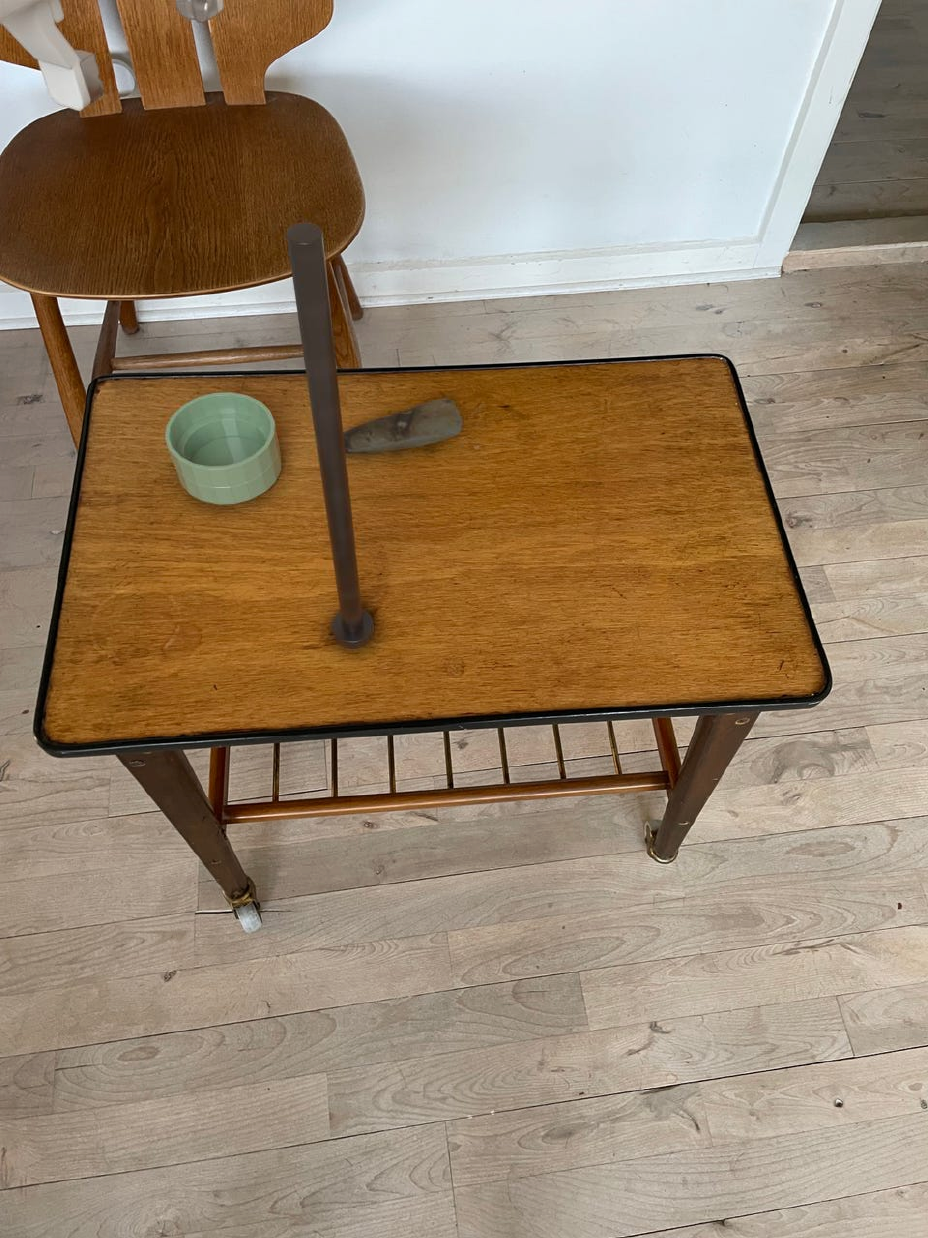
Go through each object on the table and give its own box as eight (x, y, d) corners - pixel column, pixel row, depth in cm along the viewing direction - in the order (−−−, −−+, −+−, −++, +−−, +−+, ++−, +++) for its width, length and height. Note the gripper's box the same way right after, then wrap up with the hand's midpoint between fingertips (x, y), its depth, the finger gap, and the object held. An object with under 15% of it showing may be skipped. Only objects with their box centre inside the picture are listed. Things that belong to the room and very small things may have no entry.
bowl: (157, 480, 83) (142, 440, 78) (224, 419, 88) (213, 378, 83) (238, 524, 80) (227, 485, 76) (302, 459, 85) (296, 418, 81)
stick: (324, 637, 74) (252, 237, 42) (348, 608, 76) (296, 203, 44) (358, 656, 73) (311, 263, 41) (382, 626, 75) (354, 227, 43)
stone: (450, 408, 90) (451, 391, 88) (469, 439, 88) (469, 423, 86) (333, 439, 87) (331, 423, 85) (348, 473, 84) (346, 457, 83)
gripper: (141, -460, 33) (210, -41, 45) (-311, -382, 23) (-69, 138, 35) (281, -437, 32) (315, -14, 44) (-127, -344, 22) (60, 181, 33)
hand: (144, 55), depth 39 cm, fingers open, 8 cm apart
